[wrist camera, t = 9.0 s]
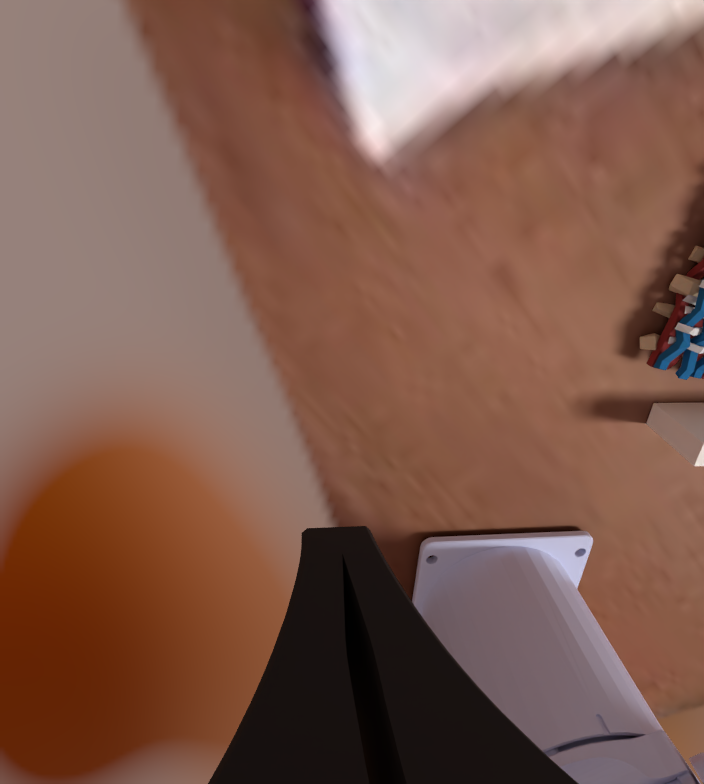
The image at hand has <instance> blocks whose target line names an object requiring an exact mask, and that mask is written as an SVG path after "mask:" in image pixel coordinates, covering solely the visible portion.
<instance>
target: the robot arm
mask: <svg viewBox="0 0 704 784" xmlns="http://www.w3.org/2000/svg"><path fill="white" fill-rule="evenodd" d="M592 544H593V539H592V537H591V536H590V534H589V533H588V532H586V531H563V532H540V533H516V534H493V535H469V536H446V537H430V538H427V539H425V540H424V541H423V542H422V543H421V546H420V552H419V558H418V565H417V572H416V578H415V585H414V591H413V598H412V601H411V600H410V598H409V597H408V595H407V594H406V592H405V591H404V589H403V588H402V586H401V585H400V583H399V581H398V580H397V578H396V577H395V575H394V573H393V572H392V570H391V568H390V567H389V565H388V563H387V562H386V560H385V558H384V556H383V555H382V553H381V551H380V549H379V547H378V545H377V543H376V541H375V539H374V537H373V535H372V533H371V531H370V530H369V529H368V528H367V527H366V526H357V527H332V528H309V529H308V528H307V529H306V530H305V531H304V532H302V549H301V557H300V563H299V568H298V573H297V577H296V581H295V585H294V589H293V592H292V595H291V599H290V602H289V606H288V609H287V613H286V616H285V619H284V622H283V624H282V627H281V630H280V633H279V636H278V638H277V641H276V644H275V646H274V649H273V652H272V654H271V657H270V659H269V662H268V664H267V667H266V669H265V672H264V674H263V676H262V679H261V681H260V683H259V685H258V688H257V690H256V692H255V694H254V697H253V699H252V701H251V703H250V705H249V707H248V709H247V711H246V713H245V715H244V717H243V719H242V721H241V723H240V725H239V727H238V729H237V732H236V734H235V735H234V738H233V739H232V741H231V743H230V745H229V747H228V749H227V751H226V753H225V755H224V757H223V758H222V760H221V762H220V764H219V765H218V767H217V769H216V771H215V772H214V774H213V776H212V778H211V779H210V781H209V783H208V784H700V782H699V780H698V779H697V778H696V776H695V775H694V773H693V772H692V770H691V769H690V767H689V766H688V765H687V763H686V762H685V760H684V759H683V757H682V756H681V754H680V753H679V751H678V750H677V748H676V747H675V746H674V744H673V743H672V741H671V740H670V739H669V737H668V735H667V734H666V733H665V731H663V729H662V727H661V726H660V724H659V722H658V721H657V719H656V717H655V716H654V714H653V713H652V711H651V709H650V708H649V706H648V704H647V703H646V701H645V699H644V698H643V696H642V695H641V693H640V691H639V690H638V688H637V686H636V685H635V683H634V681H633V680H632V678H631V677H630V675H629V673H628V672H627V670H626V668H625V667H624V665H623V664H622V662H621V660H620V659H619V657H618V655H617V654H616V652H615V650H614V649H613V647H612V646H611V644H610V642H609V641H608V639H607V637H606V636H605V634H604V632H603V631H602V629H601V628H600V626H599V624H598V623H597V621H596V619H595V618H594V616H593V614H592V613H591V611H590V610H589V608H588V606H587V605H586V603H585V601H584V600H583V598H582V596H581V595H580V593H579V592H578V590H577V588H578V585H579V582H580V579H581V576H582V573H583V570H584V567H585V565H586V562H587V559H588V556H589V553H590V550H591V547H592ZM578 549H579V550H578ZM432 555H434V556H433V557H430V558H428V557H429V556H432ZM689 760H690V762H691V764H692V765H693V767H694V769H695V770H696V772H697V774H698V775H699V777H700V779H701V781H702V782H703V784H704V753H700V754H697V755H695V756H693V757H691V758H689Z"/></svg>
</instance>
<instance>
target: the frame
mask: <svg viewBox="0 0 704 784" xmlns="http://www.w3.org/2000/svg"><path fill="white" fill-rule="evenodd" d="M646 424H647V425H648V426H649V427H650V428H651V429H652V430H654V431H655V432H656V433H657V434H658V435H659V436H660V437H661V438H663V439H664V440H665V441H666V442H667V443H668V444H669V445H671V446H672V447H673V448H674V449H675V450H676V451H677V452H679V453H680V454H681V455H682V456H683V457H684V458H685V459H686V460H688V461H689V462H690V463H691V464H692V465H693V466H704V402H701V403H653V406H652V409H651V412H650V415H649V417H648V420H647V423H646Z"/></svg>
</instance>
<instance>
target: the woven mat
mask: <svg viewBox="0 0 704 784" xmlns="http://www.w3.org/2000/svg"><path fill="white" fill-rule="evenodd" d="M688 260H691V261H694V262H697V263H698V264H697V265H696V266H695V267H693V268H692V269H691V270H690V271H689V272H688V273H687V275H686V276H683V275H680V274H676V276H675V277H674V279H673V281H672V282H671V284H670V287H669V291H672V292H675V293H676V304H675V305H672V304H666V303H659V302H657V303H656V305H655V306H654V308H653V310H652V311H654V312H656V313H658V314H661V315H663V316H666V317H668V318H669V320H668V322H667V324H666V326H665V328H664V330H663V332H662V334H661V335H658V334H656V333H653V334H648V335H645V336H641V337H640V349H645V350H653V352H652V354H651V356H650V358H649V360H648V362H647V364H648V365H649V366H651V367H654V368H658V369H663V370H666V369H669V368H671V367H672V366H674V365H675V364H677V362H678V361H679V359H680V358H681V357H682V358H683V359H682V364H681V366H680V367H679V369H678V371H677V372H676V375H677V376H678V378H681V379H685V380H687V379H688V378H689V376H691V377H695V378H700V379H701V378H702V379H704V279H703V280H702V279H700V278H701V277H703V276H704V248H702V247H699V246H695V248H694V250H693V251H692V253H691V255H690V257H689V259H688ZM689 303H691V304H694V305H695V308H693V307H689ZM696 335H697V336H696ZM675 336H676V337H675Z"/></svg>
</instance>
